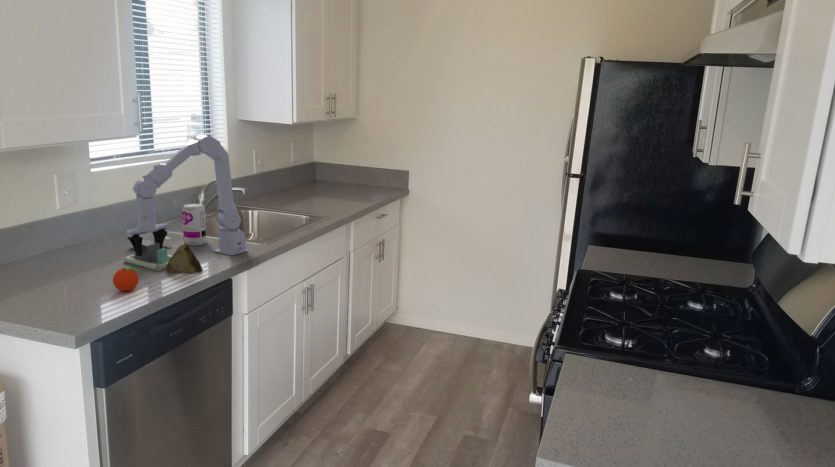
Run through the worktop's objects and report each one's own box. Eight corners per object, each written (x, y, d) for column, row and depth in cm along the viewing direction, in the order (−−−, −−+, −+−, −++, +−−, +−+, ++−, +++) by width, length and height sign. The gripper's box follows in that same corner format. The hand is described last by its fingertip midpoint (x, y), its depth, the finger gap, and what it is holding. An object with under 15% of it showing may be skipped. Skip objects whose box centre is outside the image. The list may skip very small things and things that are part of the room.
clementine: (142, 285, 185) (140, 263, 184) (144, 292, 179) (142, 269, 178) (113, 288, 182) (111, 265, 180) (114, 295, 176) (112, 272, 174)
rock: (155, 266, 197) (175, 268, 192) (166, 242, 200) (185, 243, 195) (180, 279, 205) (200, 281, 200) (190, 256, 208) (210, 257, 203)
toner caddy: (171, 262, 207) (170, 245, 206) (158, 265, 203) (157, 248, 201) (147, 256, 213) (146, 239, 212) (135, 259, 209) (133, 242, 208)
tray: (184, 264, 208) (184, 259, 208) (157, 271, 199) (156, 266, 198) (152, 255, 217) (152, 250, 216) (124, 262, 207) (123, 257, 207)
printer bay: (171, 247, 228) (170, 231, 227) (149, 252, 220) (148, 236, 219) (153, 242, 233) (152, 227, 232) (131, 247, 225) (130, 231, 224)
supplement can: (191, 247, 229) (190, 208, 226) (179, 243, 234) (177, 205, 231) (210, 243, 236) (209, 205, 232) (198, 239, 240) (196, 202, 237)
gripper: (157, 210, 213) (159, 247, 216) (119, 216, 201) (122, 255, 204) (170, 212, 210) (172, 250, 213) (132, 219, 198) (135, 259, 201)
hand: (148, 253), depth 208 cm, fingers open, 7 cm apart
